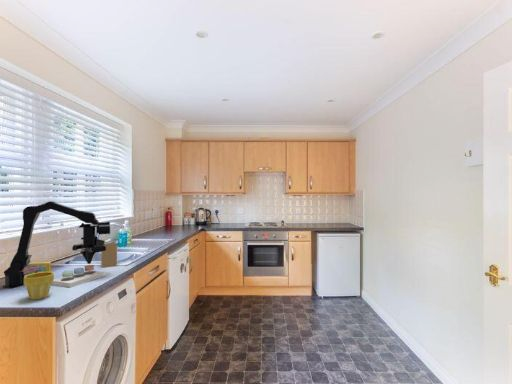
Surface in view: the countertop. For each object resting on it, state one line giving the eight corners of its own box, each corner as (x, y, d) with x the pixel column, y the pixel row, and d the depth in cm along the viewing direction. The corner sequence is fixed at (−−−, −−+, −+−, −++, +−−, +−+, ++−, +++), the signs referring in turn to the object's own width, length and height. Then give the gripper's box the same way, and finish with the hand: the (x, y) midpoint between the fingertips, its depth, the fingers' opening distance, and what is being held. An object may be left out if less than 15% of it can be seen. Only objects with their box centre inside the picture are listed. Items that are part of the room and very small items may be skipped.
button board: (69, 287, 132) (69, 282, 132) (49, 284, 137) (49, 279, 137) (105, 275, 151) (105, 271, 151) (86, 273, 155) (86, 269, 155)
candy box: (16, 278, 146) (16, 263, 146) (20, 277, 149) (20, 262, 149) (49, 277, 148) (49, 262, 148) (51, 276, 150) (51, 261, 150)
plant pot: (50, 291, 127) (50, 270, 127) (56, 296, 121) (56, 274, 121) (21, 297, 119) (21, 275, 119) (26, 303, 113) (26, 279, 113)
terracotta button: (88, 271, 146) (88, 267, 146) (82, 270, 148) (82, 266, 148) (95, 268, 151) (95, 265, 151) (90, 268, 152) (90, 264, 152)
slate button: (77, 274, 141) (77, 270, 141) (71, 273, 142) (71, 269, 142) (85, 271, 145) (85, 268, 145) (79, 271, 146) (79, 267, 146)
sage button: (66, 277, 135) (66, 273, 135) (60, 276, 137) (60, 272, 137) (75, 275, 139) (74, 271, 139) (68, 274, 141) (68, 270, 141)
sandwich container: (115, 261, 185) (115, 239, 185) (117, 266, 171) (117, 242, 172) (100, 262, 180) (100, 240, 180) (101, 268, 167) (101, 243, 167)
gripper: (114, 233, 154) (114, 261, 154) (90, 232, 160) (90, 259, 160) (96, 236, 143) (96, 266, 143) (71, 235, 150) (71, 263, 150)
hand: (89, 263), depth 149 cm, fingers closed
